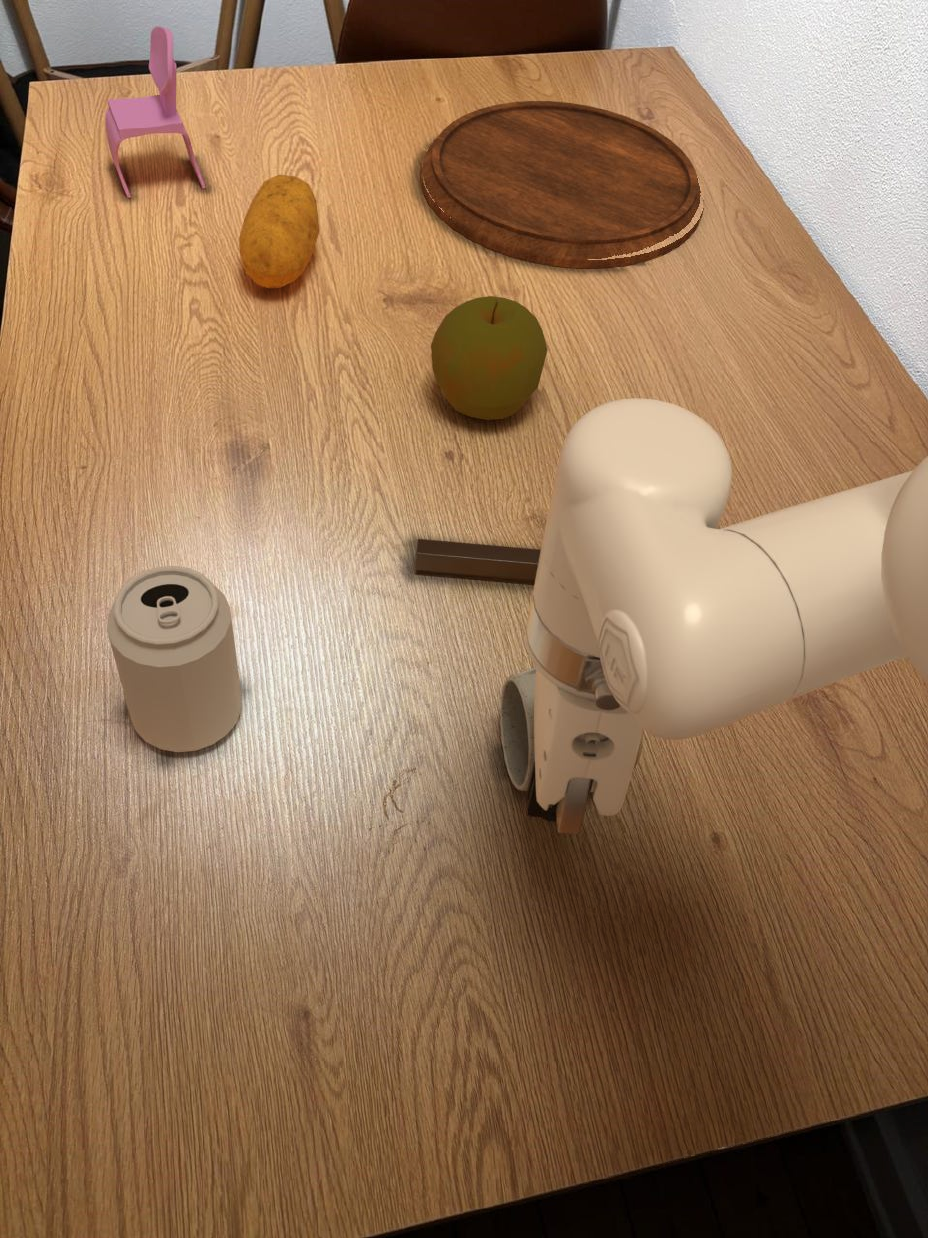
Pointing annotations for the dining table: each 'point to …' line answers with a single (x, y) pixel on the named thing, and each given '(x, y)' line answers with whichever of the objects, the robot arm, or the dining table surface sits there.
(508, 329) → the apple
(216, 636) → the can
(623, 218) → the cutting board
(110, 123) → the toy chair
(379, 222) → the dining table surface
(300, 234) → the potato
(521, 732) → the ceramic mug
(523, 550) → the back rail
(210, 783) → the dining table surface
